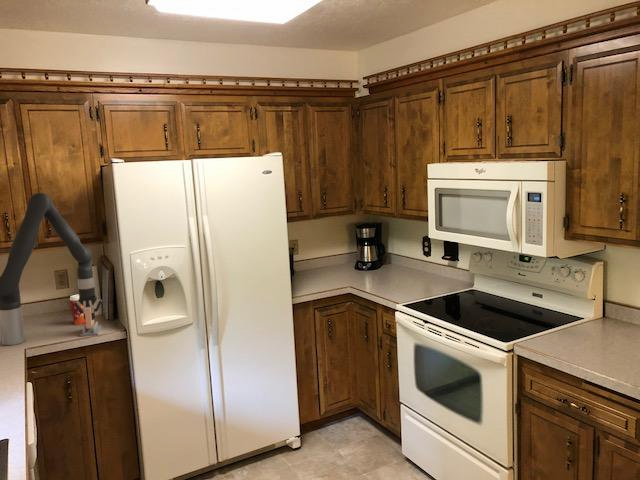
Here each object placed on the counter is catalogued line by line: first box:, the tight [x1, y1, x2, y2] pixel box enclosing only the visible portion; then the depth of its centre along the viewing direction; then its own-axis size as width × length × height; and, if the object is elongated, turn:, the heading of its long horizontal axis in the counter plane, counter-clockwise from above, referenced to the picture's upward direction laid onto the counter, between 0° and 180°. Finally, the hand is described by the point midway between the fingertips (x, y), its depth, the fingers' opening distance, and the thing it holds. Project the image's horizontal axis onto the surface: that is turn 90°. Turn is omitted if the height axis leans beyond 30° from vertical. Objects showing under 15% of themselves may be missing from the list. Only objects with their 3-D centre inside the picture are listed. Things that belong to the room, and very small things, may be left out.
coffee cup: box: [69, 293, 86, 326], centre depth 285 cm, size 8×8×15 cm
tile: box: [85, 306, 95, 329], centre depth 269 cm, size 9×2×10 cm, turn 15°
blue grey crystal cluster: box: [79, 321, 102, 338], centre depth 269 cm, size 8×13×4 cm, turn 15°
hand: (89, 319), depth 269 cm, fingers closed on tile, 2 cm apart
